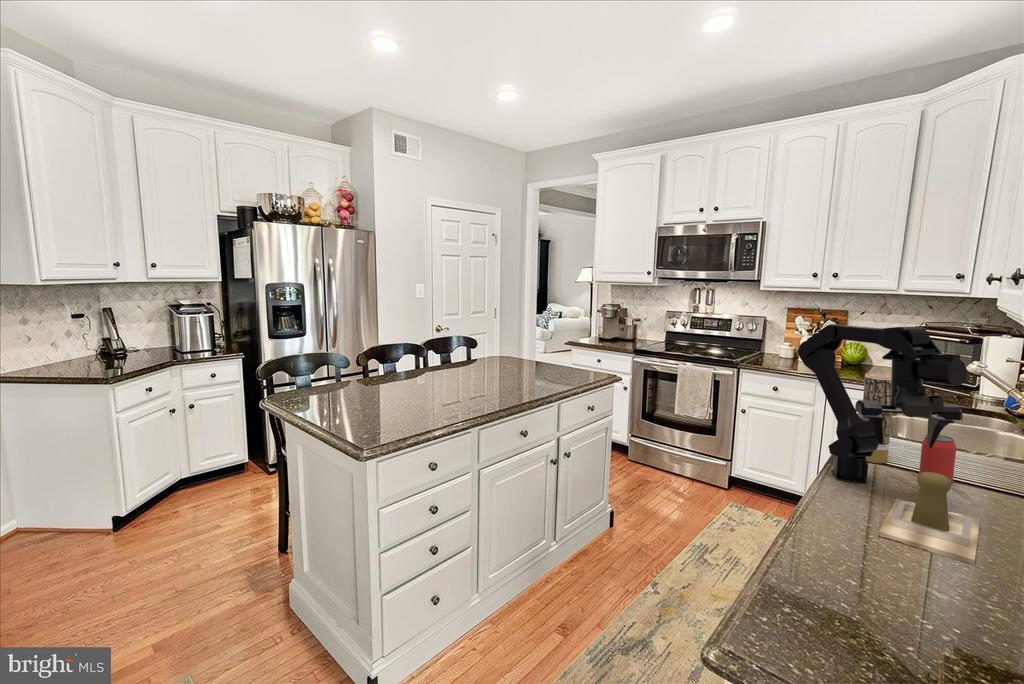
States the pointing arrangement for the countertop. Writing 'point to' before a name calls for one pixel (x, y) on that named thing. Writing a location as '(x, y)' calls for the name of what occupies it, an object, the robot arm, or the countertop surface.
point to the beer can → (939, 457)
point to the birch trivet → (933, 543)
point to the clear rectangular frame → (931, 531)
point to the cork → (932, 501)
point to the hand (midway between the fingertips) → (905, 445)
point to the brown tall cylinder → (881, 392)
